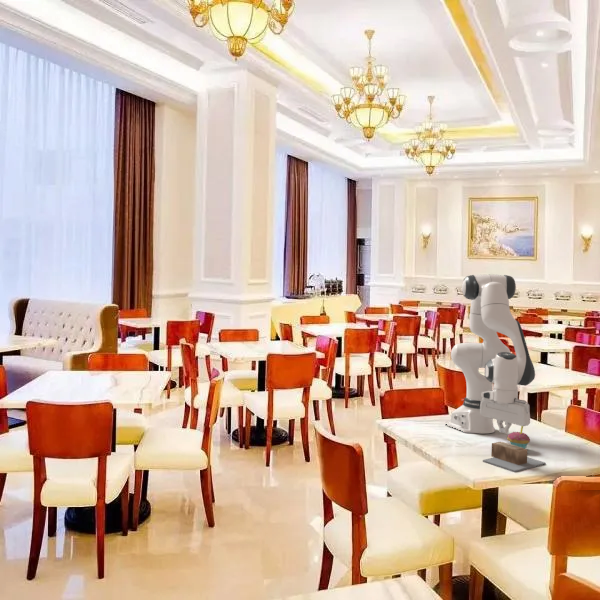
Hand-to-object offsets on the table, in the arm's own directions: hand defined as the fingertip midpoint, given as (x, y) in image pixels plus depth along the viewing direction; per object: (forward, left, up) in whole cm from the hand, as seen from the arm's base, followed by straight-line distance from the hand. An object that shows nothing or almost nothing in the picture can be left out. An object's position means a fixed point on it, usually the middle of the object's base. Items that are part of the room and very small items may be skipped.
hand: (503, 432), depth 228 cm
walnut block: (-3, 0, -7) cm, 8 cm away
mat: (+5, 0, -10) cm, 11 cm away
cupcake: (-5, +16, -10) cm, 20 cm away
